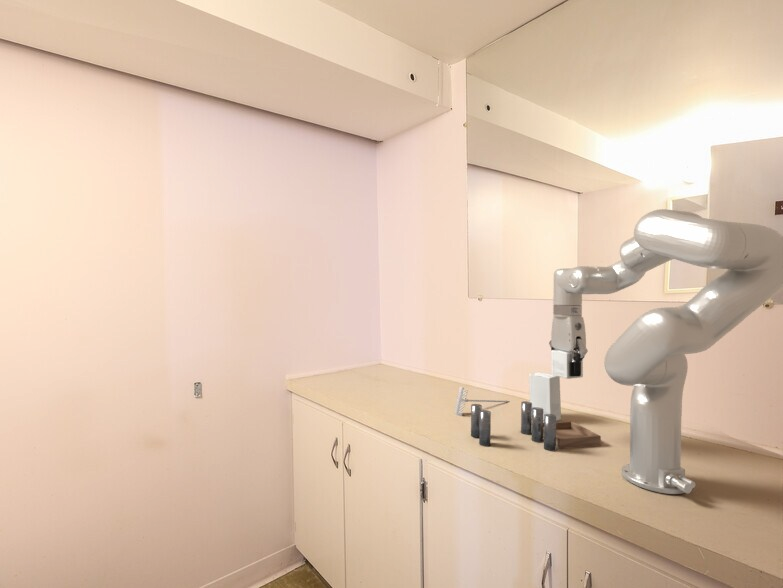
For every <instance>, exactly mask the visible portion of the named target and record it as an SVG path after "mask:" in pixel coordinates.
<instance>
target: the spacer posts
mask: <svg viewBox="0 0 783 588" xmlns="http://www.w3.org/2000/svg"><path fill="white" fill-rule="evenodd" d="M482 407H483V406H482V405H481V404H479V403H472V404H471V405H470V437H471V438H474V439H479V441H478V444H479V445H480V446H482V447H490V446H491V429H492V426H491V425H492V424H491V422H492V420H491V417H492V416H491V415H492V412H491V411H490V410H485V409H483V408H482ZM520 407H521V408H520V410H521V411H520V418H521V419H520V433H522V434H523V435H531V441H532V442H535V443H543V449H544V450H546V451H549V452H555V451H556V450H557V447H556V422H557V421H556V415H553V414H544V421H543V409H542V408H539V407H533V408H532V403H531V402H530V401H527V400H526V401H524V400H523V401H521V406H520ZM543 423H544V438H543ZM489 445H490V446H489Z"/></svg>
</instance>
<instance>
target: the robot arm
mask: <svg viewBox="0 0 783 588" xmlns="http://www.w3.org/2000/svg"><path fill="white" fill-rule="evenodd" d="M619 256H620V259H621V260H619V261H617V262H615V263H613V264H611V265H609V266H585V265H583V266H575V267H572V268H559V269H556V270H555V271H554V273H553V298H552V299H553V300H552V301H553V302H552V303H553V304H552V307H553V308H552V310H553V312H552V313H553V316H552V321H551V334H550V336H551V337H550V340H549V342H548V345H549V347H550V349H551V351H552V350H562V351H566V352H569V353H570V358H571V362H570V374H569V375H570V376H572V377H573V376H581V362H582V361H584V359H585V357H586V355H587V353H588V348H587V338H586V336H587V335H586V334H587V333H586V325H585V320H584V317H583V295H610V294H615V293H618V292H620V291H621V290H625V289H627V288H629V287H631V286H633V285H635V284H637V283H638V282H639V281H640V280H641V279H642V278H643V277H644V276H645V275H646V273H647V272H648V271H651V270H653V269H655V268H657V267H660V266H662V265H663V264H665V263H666V264H667V262H670V261H672V260H676V261H680V262H683V263H686V264H690V265H692V266H696V267H701V268H706V269H716V270H717V269H718V270H726V271H725V272H724V273H722V274H721V275H720V276H718V277H716V278H715V279H713V280H712V281H710V282H709V283H707V284H706V285H704V286H703V287H702V288H701V289H700V290H699V292H697V294H695V295H694V296H693V297H691V299H689V300H688V301H686V303H684V304H683V305H680V306H676V307H673V306H669V307H668V306H667V307H665V306H664V307H657V308H653V309H650V310H648V311H646V312H645V313H643V314H641V315H639V317H638V318H636V319H635V321H633V322H632V324H630V326H628V328H627V329H625V331H624V332H623V333H622V334H621V335H619V337H618V338H617V339H616V340H614V342H613V343H612V344H611V345H610V347H608V350H607V351H606V353H605V357H604V370H605V371H606V374H607V375H608V377H609V378H610V379H611V380H612V381H614V382H615V383H617V384H619V385H623V386H628V387H629V386H630V387H633V388H632V392H631V396H630V407H629V410H630V415H629V416H630V417H629V420H630V421H629V422H630V423H629V425H630V426H629V463H626V464H624V465H623V466H622V467H621V474H622V476H623V478H625V480H627V481H628V482H629V483H631V484H632V485H633V484H634V485H635V486H637V487H640V488H643V489H644V490H648V491H651V492H655V493H660V494H668V495H680V494H690V493H691V492H692V490H693V489H694V488H695V487H696V482H695V481H694V480H691V479H690V478H687V477H686V469H685V468H683V467H681V466H682V465H681V464H682V463H681V462H682V461H681V460H682V458H681V457H682V448H681V447H682V416H683V415H682V411H683V395H684V394H683V392H684V387H685V383H686V379H687V374H688V366H689V365H688V358H687V356H686V355H689V354H690V355H692V354H698V353H702V352H705V351H707V350H708V349H711V347H713V346H714V345H715V344H716V343H718V342H719V341H720V340H721V339H722V338H724V336H726V335H727V334H729V333H730V332H731V331H732V330H734V329H735V328H736V327H737V326H738V325H740V324H741V323H742V322H743V321H744V320H745V319H746V318H748V317H749V316H751V314H752V313H754V312H755V311H756V310H757V309H759V308H760V307H761V306H763V305H764V304H765V303H766V302H768V301H770V299H771V298H773V296H775V295H776V293H778V292H779V291H780V290H781V288H782V287H783V235H782V234H781V233H780V232H778V231H777V230H775V229H773V228H771V227H769V226H765V225H761V224H755V223H747V222H735V221H726V220H717V219H713V218H712V219H710V218H705V217H702V216H700V214H699V215H698V214H697V213H694V212H691V211H686V210H685V211H684V210H676V209H666V208H663V209H662V208H661V209H654V210H651V211H649V212H647V213H646V214H644V215H643V216H641V217H640V218H639V219H638V220H637V222H636V224H635V226H634V228H633V237H631V238H629V239H627V240H625V241H624V242H623V243H622V244H621V245H620V248H619ZM574 354H576V356H574Z"/></svg>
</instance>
